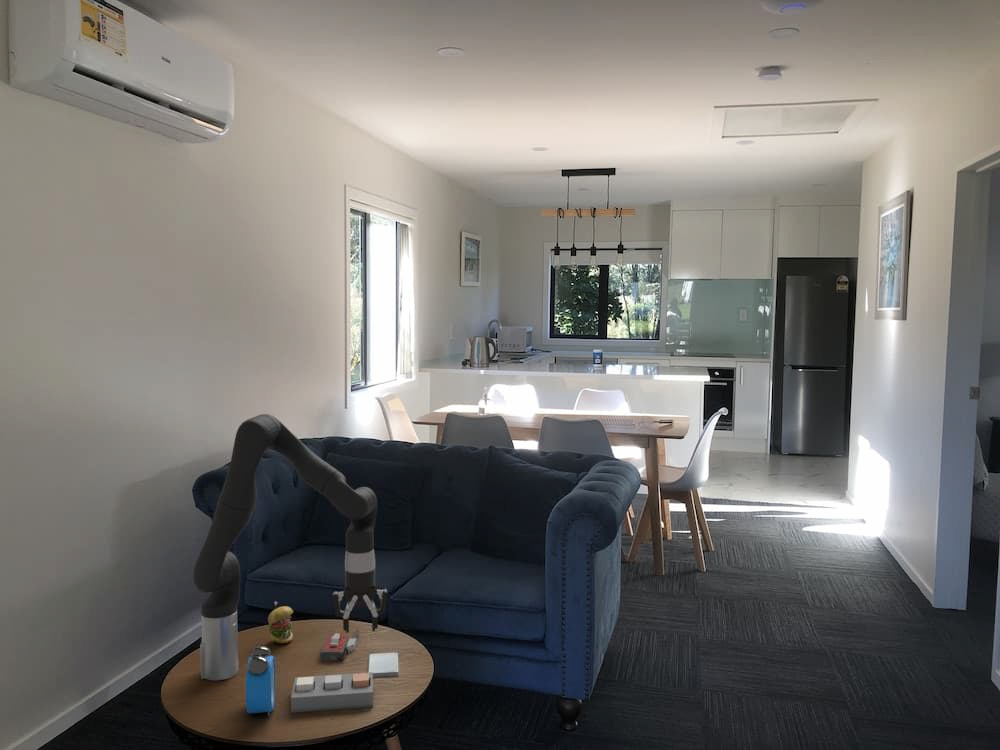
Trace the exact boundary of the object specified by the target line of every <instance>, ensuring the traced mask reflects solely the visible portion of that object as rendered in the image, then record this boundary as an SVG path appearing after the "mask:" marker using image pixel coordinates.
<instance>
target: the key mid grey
mask: <svg viewBox="0 0 1000 750" xmlns="http://www.w3.org/2000/svg"><path fill="white" fill-rule="evenodd" d="M330 675H331V676H326V677H325V690H326V689H340V688H341V687H342V680H341V675H337V674H330Z"/></svg>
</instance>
